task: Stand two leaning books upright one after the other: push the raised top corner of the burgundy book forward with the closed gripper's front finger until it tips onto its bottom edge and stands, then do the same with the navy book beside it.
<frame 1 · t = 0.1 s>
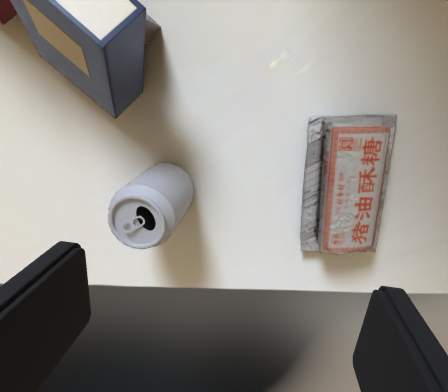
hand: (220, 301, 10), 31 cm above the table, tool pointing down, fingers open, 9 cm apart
walnut block b: (135, 17, 36), on the table
packaged product: (341, 185, 40), on the table
can: (169, 186, 43), on the table
navy book: (82, 36, 30), point 8 cm above the table, hinge at 54.2°, touching walnut block b
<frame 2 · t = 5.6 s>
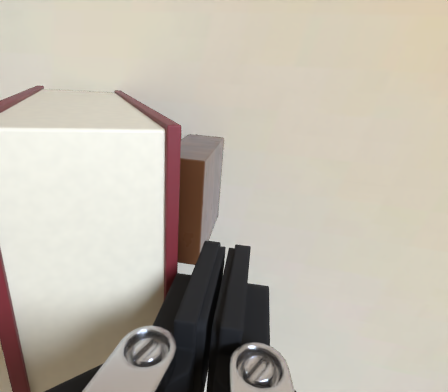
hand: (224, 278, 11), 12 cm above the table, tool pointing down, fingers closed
walnut block a: (204, 176, 22), on the table
burgundy book: (89, 210, 16), point 8 cm above the table, hinge at 58.7°, touching gripper
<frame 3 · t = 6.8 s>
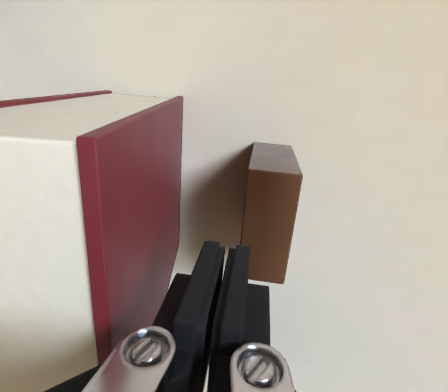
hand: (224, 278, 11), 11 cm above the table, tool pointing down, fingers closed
walnut block a: (267, 186, 21), on the table
burgundy book: (110, 219, 15), point 8 cm above the table, hinge at 81.8°, touching gripper
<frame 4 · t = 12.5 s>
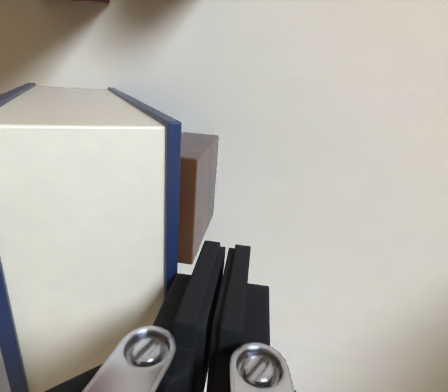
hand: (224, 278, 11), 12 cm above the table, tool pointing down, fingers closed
walnut block b: (198, 175, 22), on the table
navy book: (84, 209, 15), point 8 cm above the table, hinge at 57.3°, touching gripper
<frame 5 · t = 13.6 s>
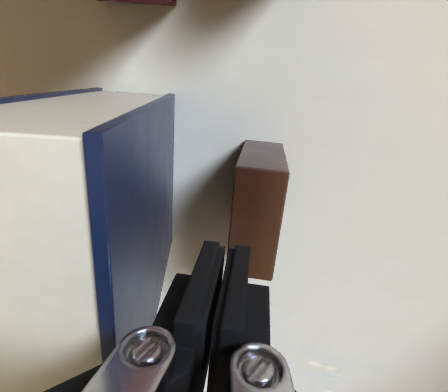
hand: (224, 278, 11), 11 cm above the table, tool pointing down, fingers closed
walnut block b: (258, 184, 21), on the table
navy book: (104, 217, 15), point 8 cm above the table, hinge at 79.2°, touching gripper
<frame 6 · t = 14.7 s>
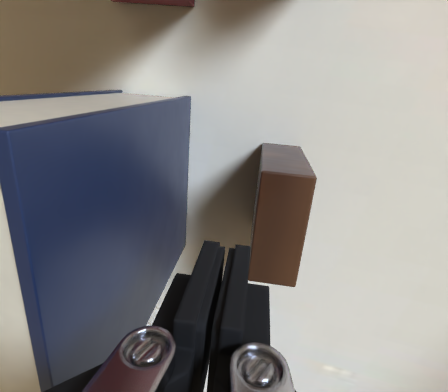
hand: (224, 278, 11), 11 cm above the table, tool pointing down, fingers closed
walnut block b: (275, 187, 21), on the table
navy book: (100, 216, 15), point 8 cm above the table, hinge at 90.1°
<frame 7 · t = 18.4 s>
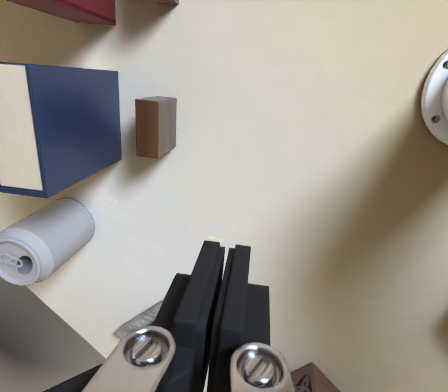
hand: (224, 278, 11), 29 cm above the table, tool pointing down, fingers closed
walnut block b: (166, 121, 39), on the table
packaged product: (176, 323, 50), on the table
can: (75, 219, 46), on the table
navy book: (65, 122, 32), point 8 cm above the table, hinge at 90.1°
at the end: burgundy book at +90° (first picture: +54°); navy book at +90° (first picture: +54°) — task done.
